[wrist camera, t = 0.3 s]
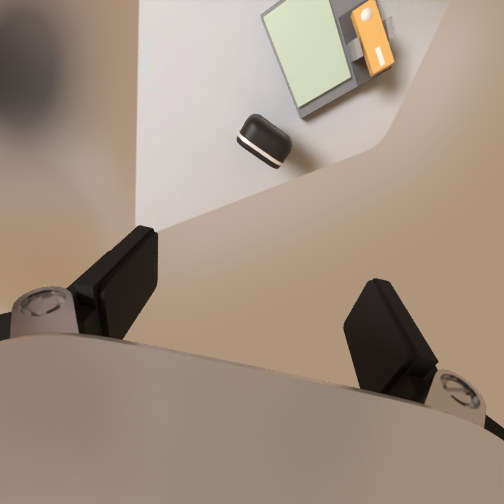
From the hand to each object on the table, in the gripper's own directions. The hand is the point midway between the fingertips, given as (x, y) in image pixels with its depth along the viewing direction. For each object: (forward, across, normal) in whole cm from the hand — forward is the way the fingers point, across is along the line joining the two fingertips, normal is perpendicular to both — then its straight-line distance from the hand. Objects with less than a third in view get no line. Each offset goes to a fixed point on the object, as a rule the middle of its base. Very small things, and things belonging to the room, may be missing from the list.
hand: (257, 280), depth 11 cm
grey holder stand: (+35, -4, -14) cm, 38 cm away
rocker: (+30, -8, -15) cm, 35 cm away
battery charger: (+36, +1, -2) cm, 36 cm away
